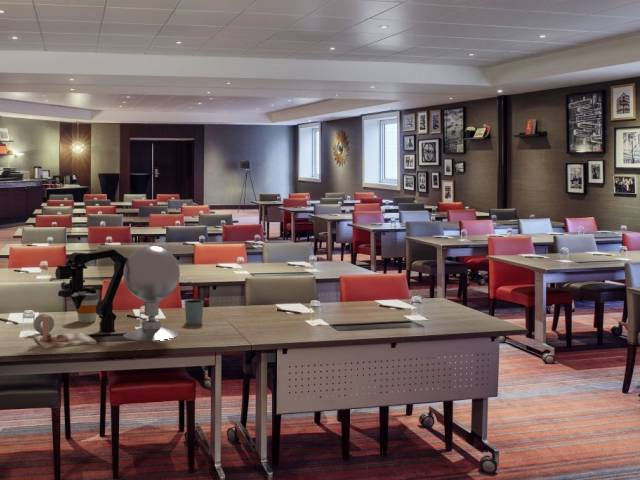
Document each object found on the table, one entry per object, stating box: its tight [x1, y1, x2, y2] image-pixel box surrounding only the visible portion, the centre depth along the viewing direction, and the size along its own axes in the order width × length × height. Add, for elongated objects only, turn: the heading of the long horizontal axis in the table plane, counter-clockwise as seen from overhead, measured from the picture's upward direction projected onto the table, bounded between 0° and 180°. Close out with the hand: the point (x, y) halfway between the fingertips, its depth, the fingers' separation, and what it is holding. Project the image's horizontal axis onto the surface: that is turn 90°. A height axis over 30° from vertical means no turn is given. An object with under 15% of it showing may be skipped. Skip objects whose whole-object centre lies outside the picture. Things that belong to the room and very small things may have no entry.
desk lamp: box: [122, 245, 181, 342], centre depth 423 cm, size 28×28×45 cm
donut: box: [33, 313, 55, 334], centre depth 422 cm, size 10×4×10 cm, turn 114°
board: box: [33, 332, 97, 349], centre depth 407 cm, size 24×22×4 cm
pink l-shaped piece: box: [40, 316, 67, 341], centre depth 402 cm, size 12×6×11 cm, turn 98°
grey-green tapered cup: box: [184, 299, 204, 325], centre depth 458 cm, size 10×10×12 cm
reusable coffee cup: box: [75, 291, 100, 324], centre depth 456 cm, size 13×13×15 cm
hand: (77, 309), depth 420 cm, fingers closed
